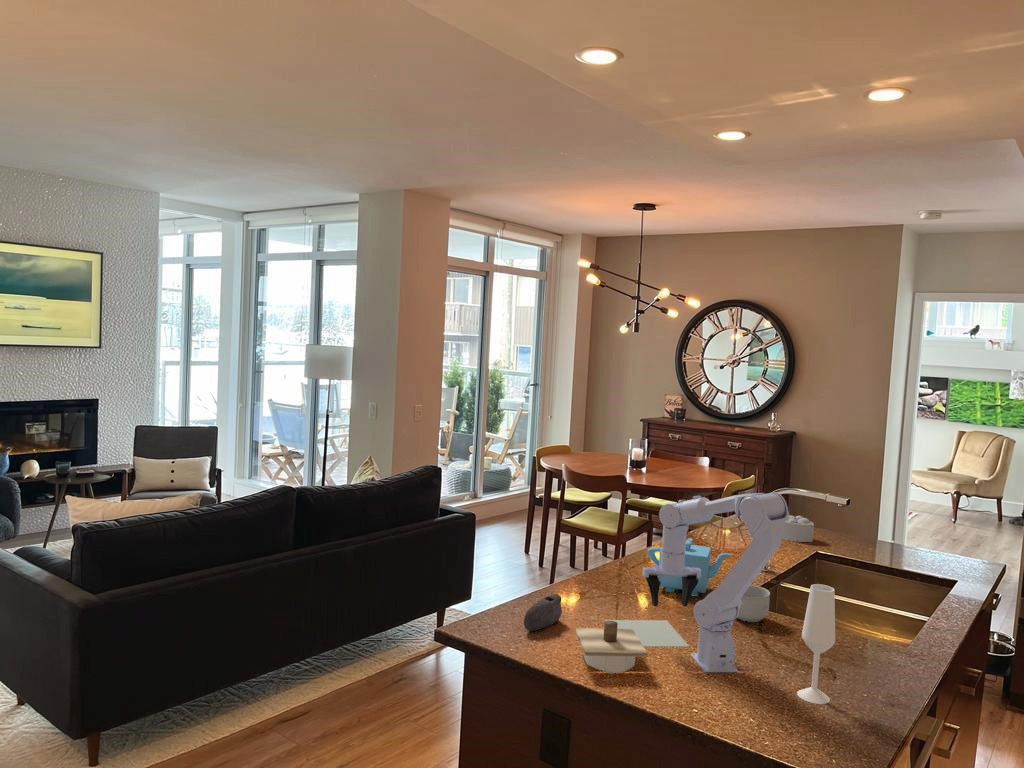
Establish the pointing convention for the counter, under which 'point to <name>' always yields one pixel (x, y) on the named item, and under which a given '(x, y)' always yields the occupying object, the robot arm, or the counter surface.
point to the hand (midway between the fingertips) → (669, 605)
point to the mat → (653, 632)
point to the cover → (610, 641)
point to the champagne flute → (818, 635)
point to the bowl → (611, 663)
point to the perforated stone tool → (543, 613)
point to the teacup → (754, 604)
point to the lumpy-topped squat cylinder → (798, 529)
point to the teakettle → (695, 559)
